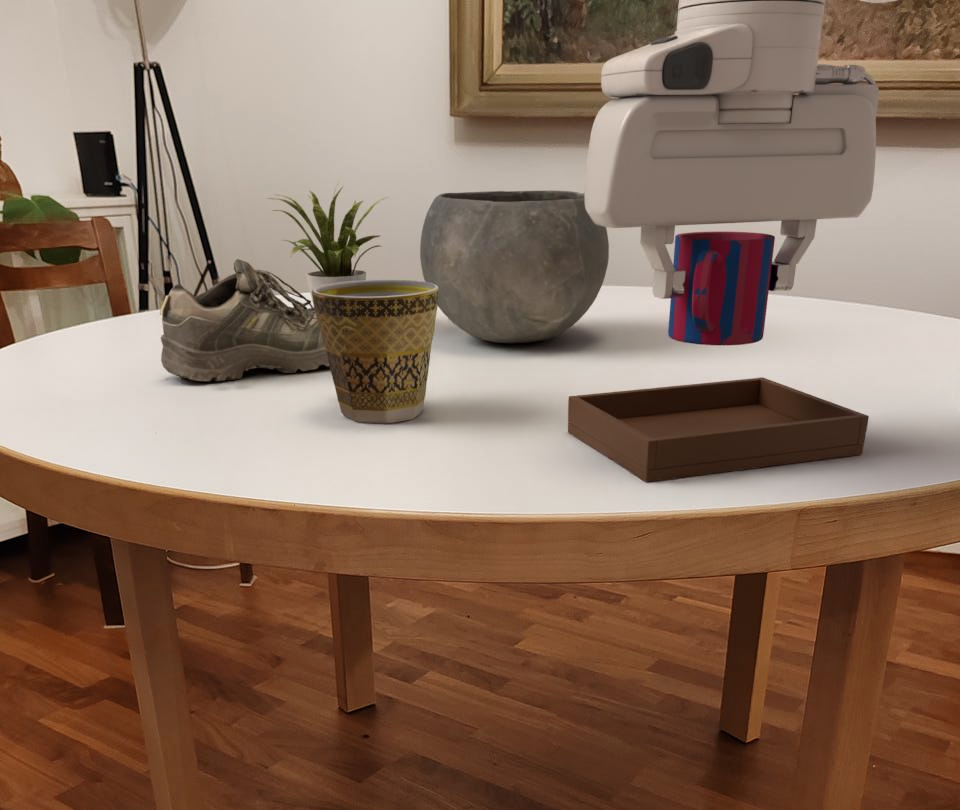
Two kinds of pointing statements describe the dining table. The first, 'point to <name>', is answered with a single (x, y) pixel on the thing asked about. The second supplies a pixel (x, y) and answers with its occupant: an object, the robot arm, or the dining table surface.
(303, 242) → the house plant
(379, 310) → the ceramic cup
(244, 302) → the hiking shoe
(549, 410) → the dining table surface
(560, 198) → the bowl
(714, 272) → the cup
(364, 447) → the dining table surface
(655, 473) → the tray
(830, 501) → the dining table surface
